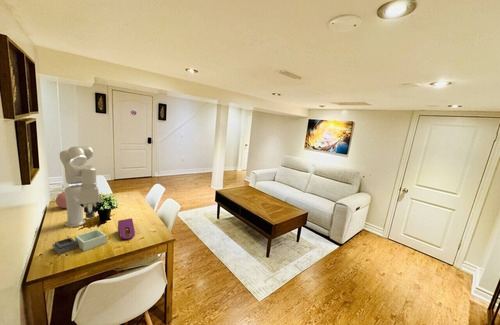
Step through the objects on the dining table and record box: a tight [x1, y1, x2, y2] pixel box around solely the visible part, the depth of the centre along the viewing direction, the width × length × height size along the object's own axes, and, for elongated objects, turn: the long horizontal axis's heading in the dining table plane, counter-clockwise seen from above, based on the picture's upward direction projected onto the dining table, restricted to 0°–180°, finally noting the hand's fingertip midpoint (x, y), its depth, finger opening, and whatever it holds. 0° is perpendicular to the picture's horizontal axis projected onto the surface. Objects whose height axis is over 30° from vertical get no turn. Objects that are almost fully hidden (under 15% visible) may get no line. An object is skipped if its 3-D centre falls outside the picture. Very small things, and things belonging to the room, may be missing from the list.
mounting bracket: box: [117, 218, 136, 241], centre depth 156 cm, size 10×8×18 cm
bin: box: [74, 228, 108, 252], centre depth 140 cm, size 13×13×6 cm
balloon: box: [55, 192, 80, 209], centre depth 193 cm, size 15×20×15 cm
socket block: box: [51, 236, 79, 255], centre depth 133 cm, size 10×10×4 cm
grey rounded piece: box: [85, 203, 96, 219], centre depth 137 cm, size 5×5×13 cm
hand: (90, 212), depth 137 cm, fingers closed on grey rounded piece, 3 cm apart
